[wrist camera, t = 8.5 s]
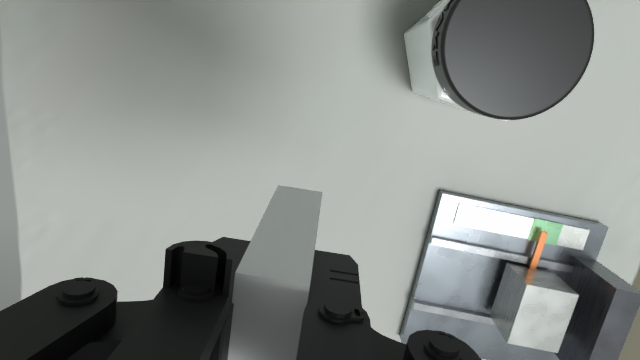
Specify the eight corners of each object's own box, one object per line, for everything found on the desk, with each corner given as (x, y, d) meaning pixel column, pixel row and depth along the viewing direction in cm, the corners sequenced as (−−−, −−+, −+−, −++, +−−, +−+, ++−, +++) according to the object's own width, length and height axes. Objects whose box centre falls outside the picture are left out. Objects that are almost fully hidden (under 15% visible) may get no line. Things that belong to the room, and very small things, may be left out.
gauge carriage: (518, 225, 37) (540, 243, 33) (566, 235, 37) (594, 254, 33) (489, 316, 39) (507, 343, 35) (535, 325, 39) (557, 353, 35)
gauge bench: (439, 189, 38) (463, 216, 31) (599, 222, 38) (659, 255, 31) (399, 335, 41) (413, 388, 34) (548, 364, 42) (591, 423, 35)
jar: (471, -30, 34) (543, -83, 23) (534, 54, 36) (633, 45, 24) (379, 51, 36) (402, 40, 24) (443, 129, 37) (494, 155, 25)
